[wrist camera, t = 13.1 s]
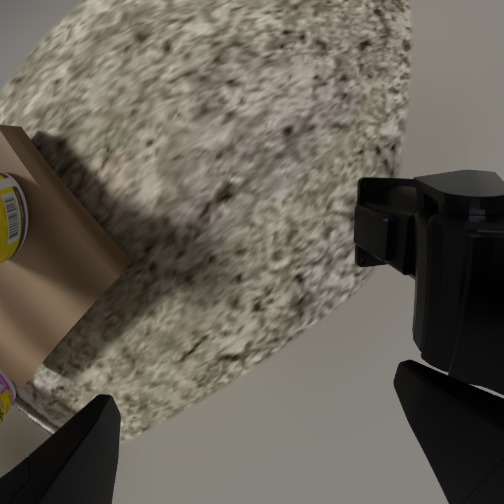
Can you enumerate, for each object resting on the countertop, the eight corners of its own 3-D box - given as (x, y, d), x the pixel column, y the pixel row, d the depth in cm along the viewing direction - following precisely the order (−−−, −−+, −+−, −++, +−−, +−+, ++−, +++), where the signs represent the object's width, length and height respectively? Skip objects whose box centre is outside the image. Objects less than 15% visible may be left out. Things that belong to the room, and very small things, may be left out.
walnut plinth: (28, 127, 15) (-4, 124, 12) (135, 255, 19) (119, 277, 16) (-45, 264, 17) (-69, 279, 13) (38, 363, 21) (21, 389, 17)
